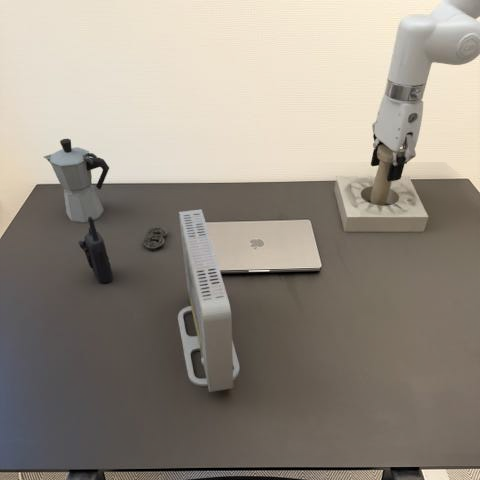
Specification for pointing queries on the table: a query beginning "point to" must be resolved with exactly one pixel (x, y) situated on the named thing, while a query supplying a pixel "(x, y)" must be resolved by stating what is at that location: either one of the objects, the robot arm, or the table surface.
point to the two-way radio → (96, 254)
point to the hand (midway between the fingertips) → (385, 171)
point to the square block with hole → (379, 217)
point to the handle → (382, 176)
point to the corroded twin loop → (155, 237)
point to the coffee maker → (78, 180)
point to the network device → (206, 307)
